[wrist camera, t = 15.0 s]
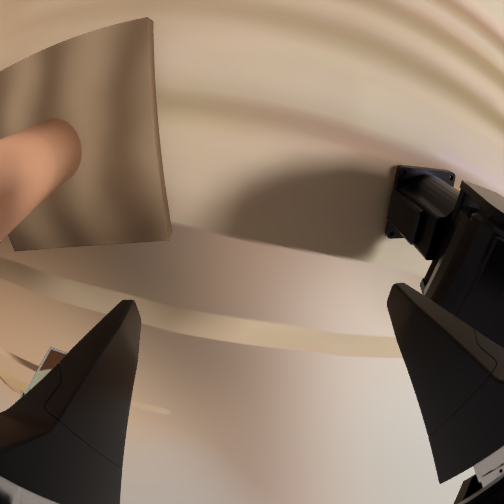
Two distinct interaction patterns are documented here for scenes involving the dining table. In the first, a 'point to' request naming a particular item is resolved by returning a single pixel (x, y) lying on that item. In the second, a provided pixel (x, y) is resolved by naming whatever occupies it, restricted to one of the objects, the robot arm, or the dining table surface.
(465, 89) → the dining table surface
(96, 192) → the tan flat square block
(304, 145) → the dining table surface
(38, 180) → the terracotta cylinder
